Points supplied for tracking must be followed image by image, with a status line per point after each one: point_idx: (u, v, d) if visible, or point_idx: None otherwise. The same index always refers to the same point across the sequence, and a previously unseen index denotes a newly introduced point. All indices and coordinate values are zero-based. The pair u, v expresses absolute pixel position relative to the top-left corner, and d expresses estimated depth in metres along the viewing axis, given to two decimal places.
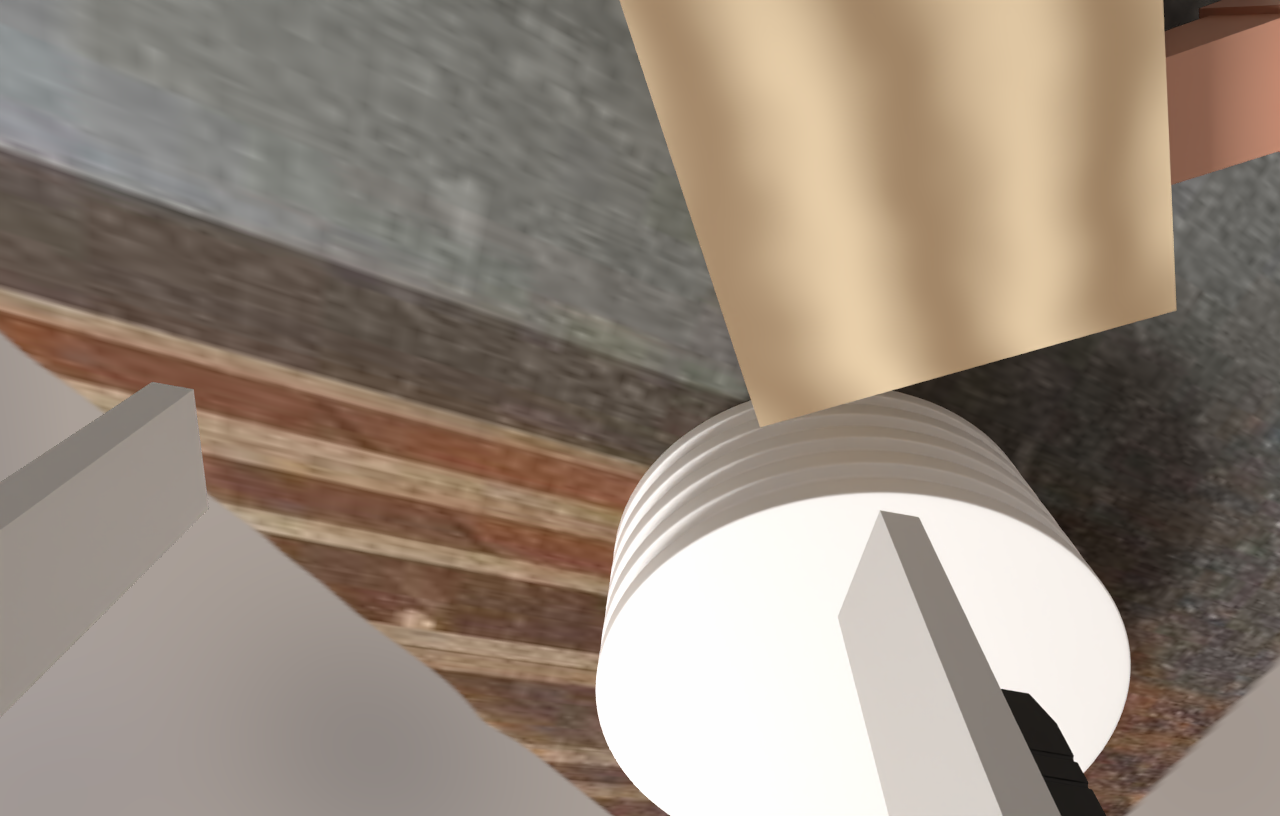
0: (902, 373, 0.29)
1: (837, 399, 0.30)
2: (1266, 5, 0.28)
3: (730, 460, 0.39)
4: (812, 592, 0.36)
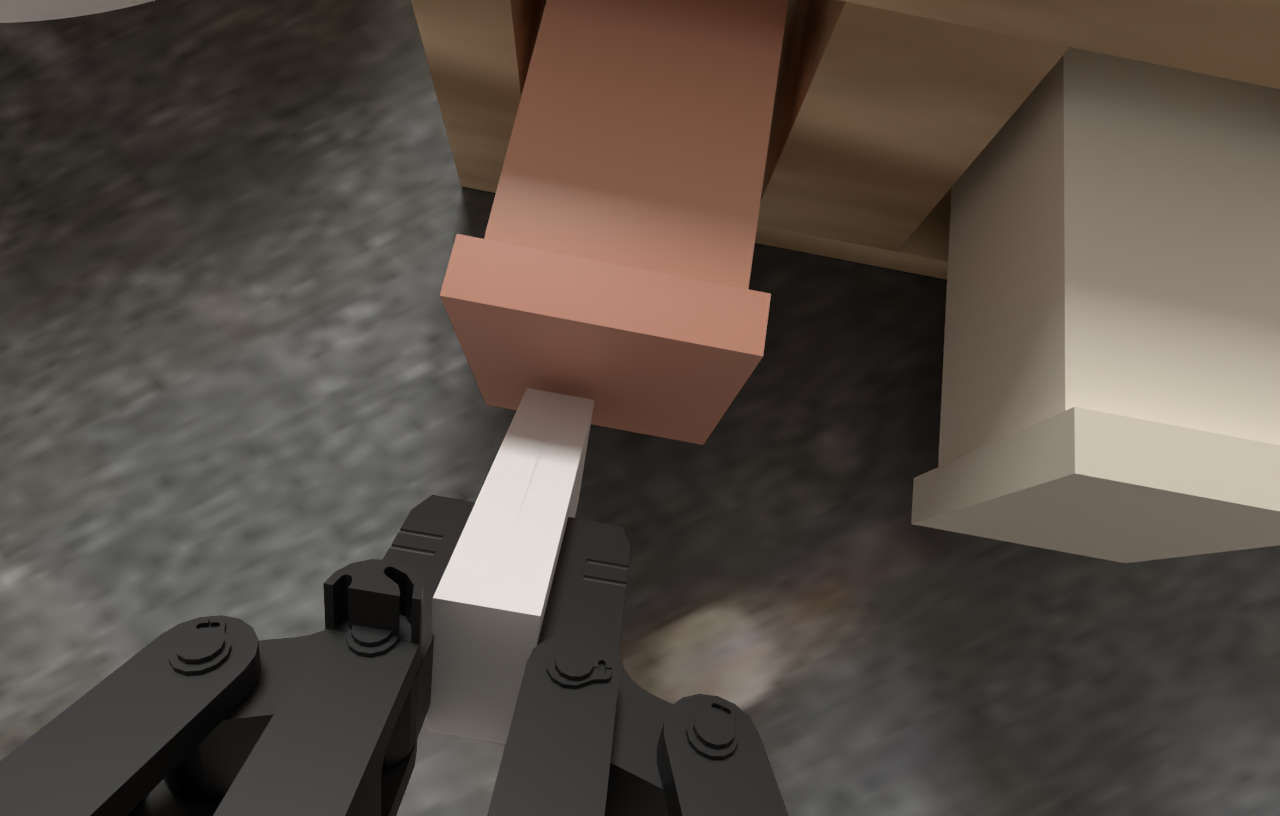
0: None
1: None
2: None
3: None
4: None
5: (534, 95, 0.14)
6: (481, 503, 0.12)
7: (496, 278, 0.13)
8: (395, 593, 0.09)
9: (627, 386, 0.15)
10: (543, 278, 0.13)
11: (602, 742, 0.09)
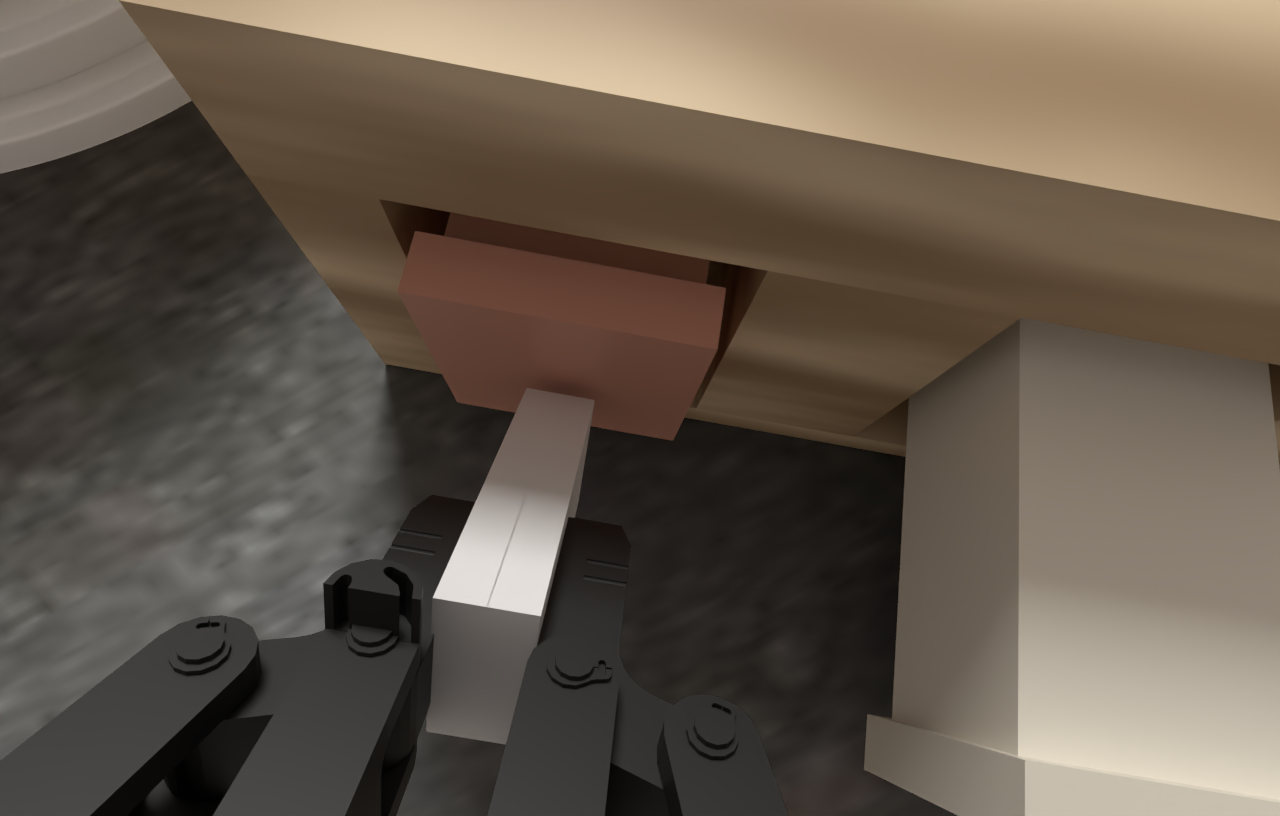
0: None
1: None
2: None
3: None
4: None
5: None
6: (481, 503, 0.12)
7: (454, 273, 0.13)
8: (395, 593, 0.09)
9: (591, 381, 0.15)
10: (499, 274, 0.13)
11: (602, 742, 0.09)
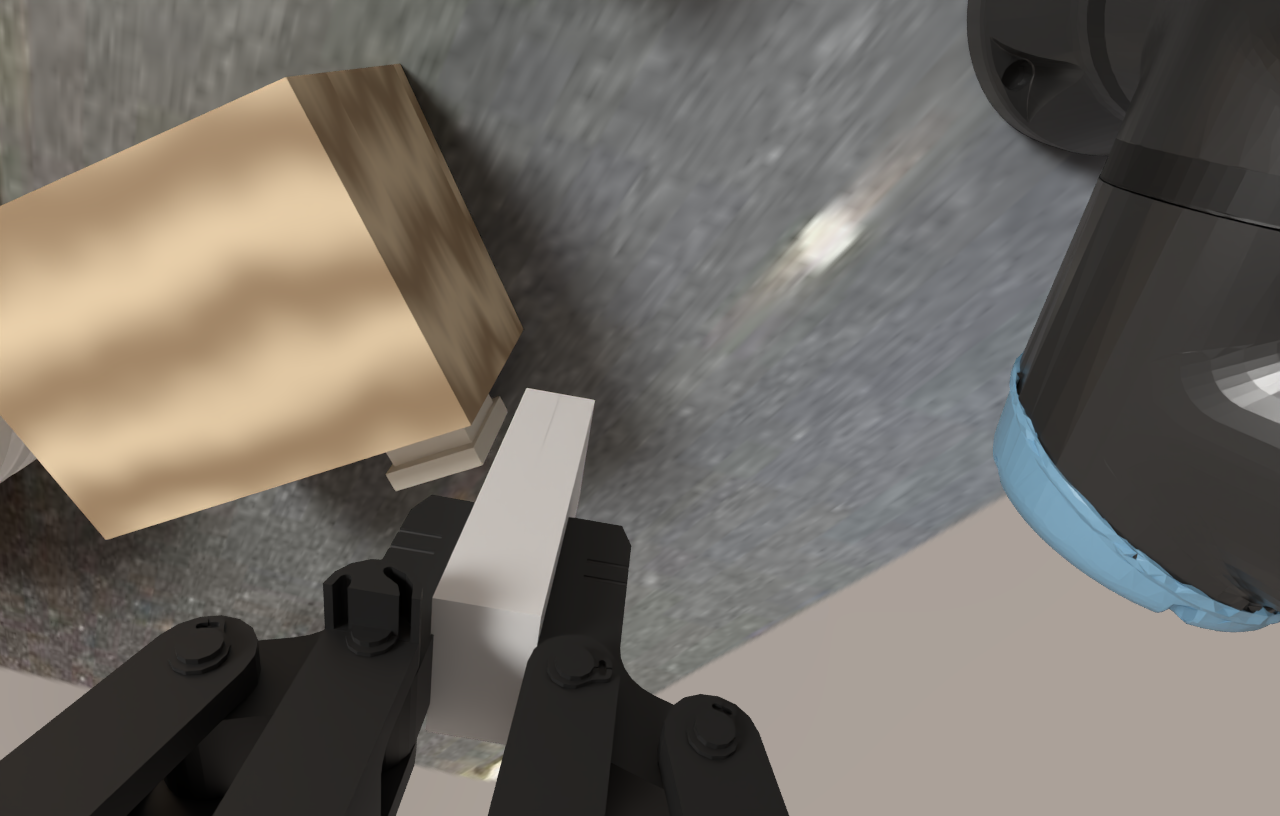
0: None
1: None
2: None
3: None
4: None
5: None
6: (481, 503, 0.12)
7: None
8: (394, 593, 0.09)
9: None
10: None
11: (602, 742, 0.09)
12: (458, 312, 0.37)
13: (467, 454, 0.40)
